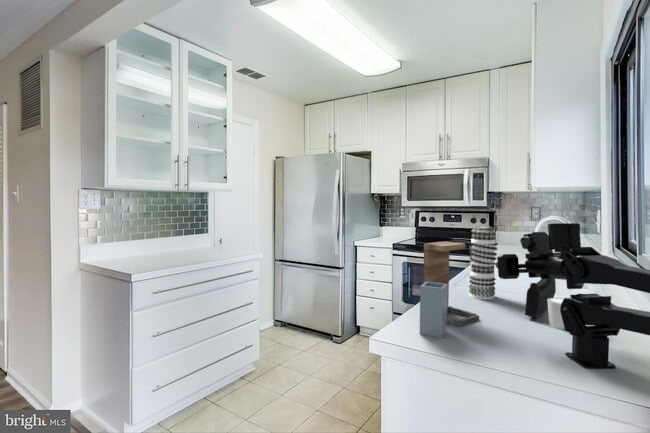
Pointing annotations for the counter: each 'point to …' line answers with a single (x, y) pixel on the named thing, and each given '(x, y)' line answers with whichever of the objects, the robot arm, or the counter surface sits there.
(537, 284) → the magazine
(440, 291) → the sleeve
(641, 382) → the counter surface
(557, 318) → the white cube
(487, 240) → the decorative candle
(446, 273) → the wooden c-shaped stand
